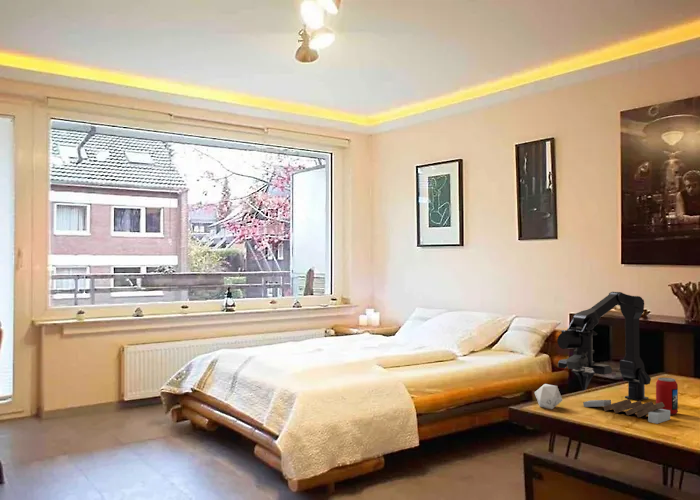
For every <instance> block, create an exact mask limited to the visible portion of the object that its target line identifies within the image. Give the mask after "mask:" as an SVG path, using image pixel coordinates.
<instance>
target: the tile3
mask: <svg viewBox="0 0 700 500" xmlns="http://www.w3.org/2000/svg"><path fill="white" fill-rule="evenodd" d="M654 404H655V403H654V402H653V401H648V402H645V403H642V405H639V406H637V407H634V408H631V409H628V410H625V411H624V412H625V414H626V416H627V417H628V416H631V415H636V413H638V412H640V411H642V410H644V409H646V408H648V407H650V406H652V405H654Z"/></svg>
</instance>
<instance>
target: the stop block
mask: <svg viewBox="0 0 700 500" xmlns="http://www.w3.org/2000/svg"><path fill="white" fill-rule="evenodd" d="M647 417H648V418H647V421H648V422H649V423H653V424H656V425H657V424H660V423H664V422H667V421H669V420H671V415H670V410H665V409H659V410H655V411H652V412H649V413H648V415H647Z"/></svg>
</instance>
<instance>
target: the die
mask: <svg viewBox="0 0 700 500" xmlns="http://www.w3.org/2000/svg"><path fill="white" fill-rule="evenodd" d="M558 387H559V386H558V385H553V384H548V383H544V384H543V385H542V386H540V387H539V388H538V389H537V390H536V391H533V392H534V396H535V398H536V401H537V403H538V405H539V407H541V408H544V409H547V410H553V409H554V408H556V407H557V406H558V405H559V404H560V403H561V402H563V398H562V395H561V393H560V391H559V390H560V389H559V388H558Z"/></svg>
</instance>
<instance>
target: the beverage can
mask: <svg viewBox="0 0 700 500" xmlns="http://www.w3.org/2000/svg"><path fill="white" fill-rule="evenodd" d="M678 387H679V386H678V383H677V381H676V379H675V378H672V377H658V378H657V380H656V382H655V404H657V403H660V402H663V404H664V405H665V407H663V408H661V409H665V410H670V416H674V415H676V414H678V413H679V410H678V409H679V407H678V406H679V405H678V404H679V396H678V395H679V394H678V393H679V392H678V391H679V389H678ZM658 410H659V409H658Z"/></svg>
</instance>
